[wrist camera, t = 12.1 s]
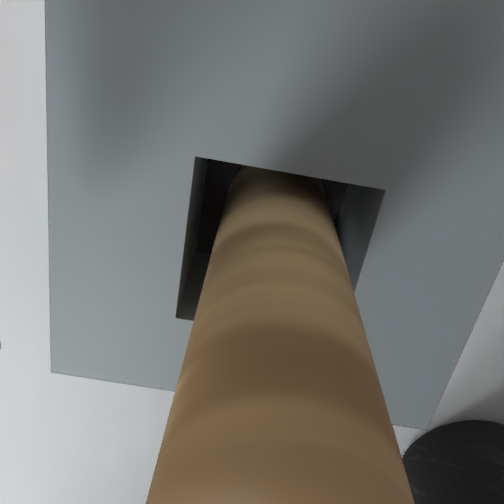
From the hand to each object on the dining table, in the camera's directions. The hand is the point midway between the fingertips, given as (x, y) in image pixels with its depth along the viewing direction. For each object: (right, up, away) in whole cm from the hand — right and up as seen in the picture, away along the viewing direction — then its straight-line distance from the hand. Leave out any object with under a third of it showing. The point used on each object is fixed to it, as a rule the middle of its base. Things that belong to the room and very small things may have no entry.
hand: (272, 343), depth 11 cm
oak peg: (+1, +4, +8) cm, 9 cm away
